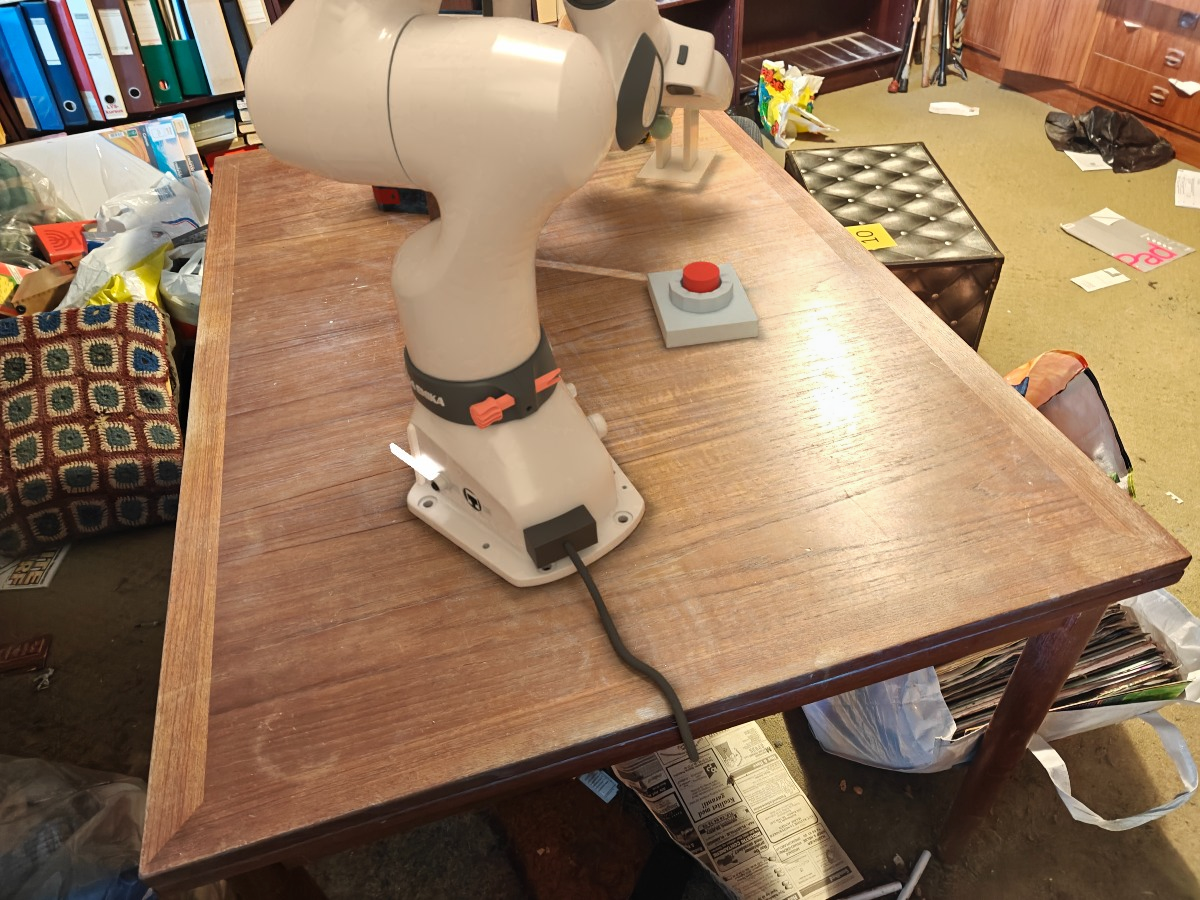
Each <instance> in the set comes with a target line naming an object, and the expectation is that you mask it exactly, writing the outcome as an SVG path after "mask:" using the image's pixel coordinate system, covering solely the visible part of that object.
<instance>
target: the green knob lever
mask: <svg viewBox="0 0 1200 900" xmlns="http://www.w3.org/2000/svg"><path fill="white" fill-rule="evenodd" d="M676 109H677V108H672V113H671V116H668V115H658V117H657V120H656V122H655V124H654V125H653V127H652V128H651V129H650V131H649V133H650V135H651V139H654V140H655V141H656V140H658V141H662V140H666V139H667V138H668V137H669V136H670V135H671V136H672V133H673V130H674V125H673V122H672V117H674V116H673V115H674V114H675V111H676Z"/></svg>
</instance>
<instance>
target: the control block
mask: <svg viewBox="0 0 1200 900" xmlns="http://www.w3.org/2000/svg"><path fill="white" fill-rule="evenodd" d="M715 265H716V266H717V267H718V268H719V270H720V277H719V287H718V288H717V289H716V290H714V291H712V292H707V293H694V292H689V291H688V290H686V289H684V287H683V269H684V267H683V268H679V269H672V270H665V271H655V272H648V273H647V275H646V276H647V291H648V294H649V298H650V300H651V304H652V306H653V307H652V308H653V310H654V313H655V315H656V318H657V322H658V325H659V328H660V332H661V335H662V337H663V340H664V341H663V342H664V344H665V347H666V348H668V349H669V348H678V347H684V346H685V347H686V346H693V345H700V344H709V343H717V342H724V341H732V340H739V339H748V338H754V337H756V338H757V337H758V332H759V320H760V319H759V317H758V316H757V313H756V312H755V309H754V307H753V305H752V303H751V301H750V299H749V297H748V294H747V293H746V290H745V288H744V285H743V284H742V282H741V280H740V278H739V276H738V274H737V272H736V269H735V268H734V265H733V263H732V262H730V263H728V262H727V263H721V264H715Z"/></svg>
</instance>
